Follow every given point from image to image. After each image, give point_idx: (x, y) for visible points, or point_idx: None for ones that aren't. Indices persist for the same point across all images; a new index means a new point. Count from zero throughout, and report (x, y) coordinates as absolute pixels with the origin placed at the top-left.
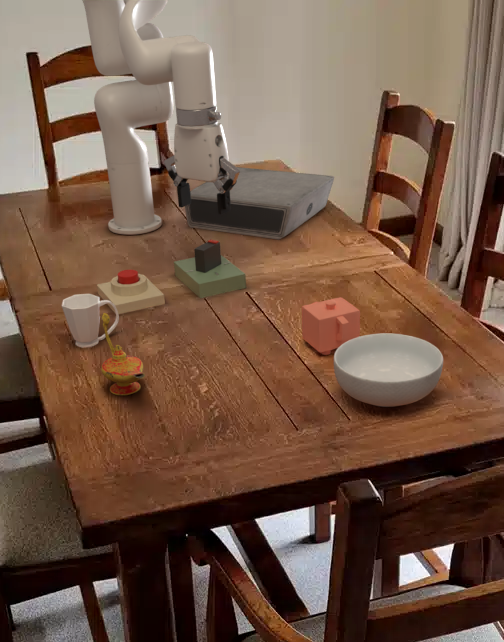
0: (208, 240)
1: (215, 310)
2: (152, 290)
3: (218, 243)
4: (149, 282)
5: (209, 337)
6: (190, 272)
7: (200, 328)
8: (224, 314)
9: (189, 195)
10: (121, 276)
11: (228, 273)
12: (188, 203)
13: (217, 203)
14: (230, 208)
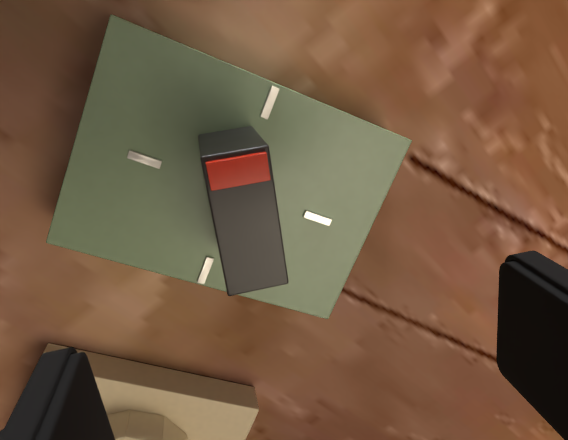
0: (210, 183)
1: (414, 315)
2: (199, 417)
3: (269, 158)
4: (128, 389)
5: (501, 417)
6: (214, 272)
7: (452, 405)
8: (453, 315)
9: (69, 419)
10: None
11: (351, 182)
12: (92, 386)
13: (553, 426)
14: (536, 252)
